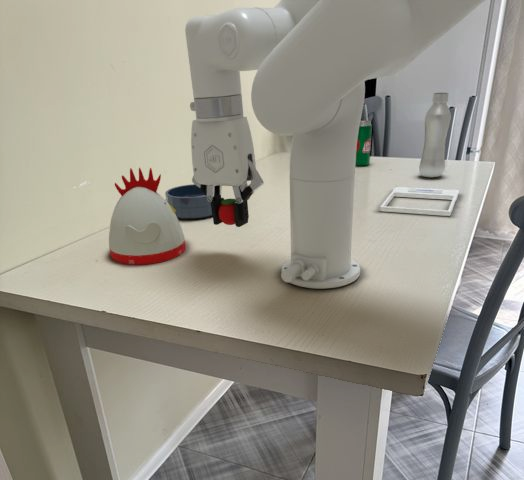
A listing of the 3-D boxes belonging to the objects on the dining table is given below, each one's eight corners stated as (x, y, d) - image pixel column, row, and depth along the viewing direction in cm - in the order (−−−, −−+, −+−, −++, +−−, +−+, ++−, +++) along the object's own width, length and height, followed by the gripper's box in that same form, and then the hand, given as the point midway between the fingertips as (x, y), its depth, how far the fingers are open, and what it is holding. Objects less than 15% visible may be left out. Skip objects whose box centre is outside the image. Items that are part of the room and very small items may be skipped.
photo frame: (459, 189, 119) (450, 210, 105) (458, 194, 119) (450, 216, 105) (396, 185, 124) (379, 205, 110) (395, 190, 125) (379, 211, 111)
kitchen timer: (186, 260, 91) (175, 173, 83) (108, 268, 89) (89, 180, 82) (184, 235, 103) (174, 157, 95) (114, 242, 101) (98, 163, 93)
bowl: (201, 223, 109) (198, 199, 107) (157, 217, 115) (154, 194, 112) (232, 208, 118) (230, 186, 116) (190, 203, 124) (187, 182, 121)
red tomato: (234, 228, 87) (231, 204, 85) (215, 226, 89) (212, 202, 87) (246, 222, 90) (244, 198, 88) (228, 220, 92) (225, 196, 90)
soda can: (365, 167, 150) (367, 122, 143) (349, 165, 152) (351, 122, 146) (372, 163, 153) (374, 120, 147) (356, 162, 156) (358, 119, 149)
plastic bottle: (446, 175, 137) (457, 92, 126) (439, 180, 132) (450, 94, 121) (422, 173, 140) (431, 91, 129) (414, 178, 135) (423, 94, 124)
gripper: (163, 113, 82) (180, 225, 91) (251, 110, 74) (261, 234, 83) (191, 107, 87) (205, 214, 96) (276, 104, 79) (283, 221, 88)
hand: (231, 222), depth 89 cm, fingers closed on red tomato, 3 cm apart
